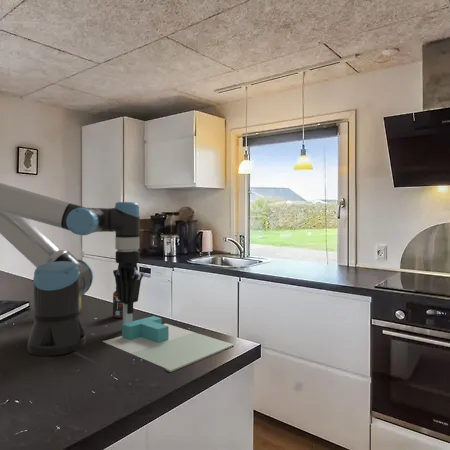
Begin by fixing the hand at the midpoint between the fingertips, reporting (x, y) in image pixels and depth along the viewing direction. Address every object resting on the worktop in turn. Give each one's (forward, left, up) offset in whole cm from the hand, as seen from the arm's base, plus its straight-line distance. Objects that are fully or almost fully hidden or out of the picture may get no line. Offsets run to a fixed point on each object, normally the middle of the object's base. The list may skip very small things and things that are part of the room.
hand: (127, 322), depth 124 cm
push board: (0, -20, -2) cm, 20 cm away
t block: (0, -12, -2) cm, 12 cm away
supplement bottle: (+8, +15, -3) cm, 18 cm away
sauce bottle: (-2, +32, -3) cm, 33 cm away
